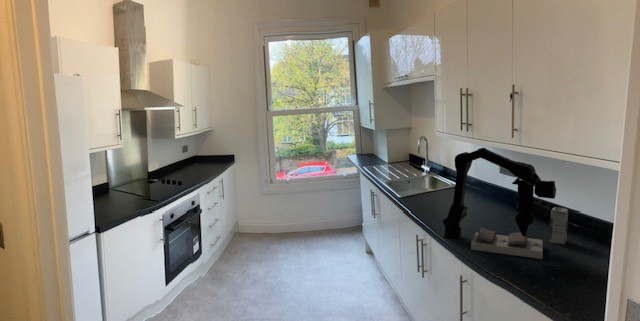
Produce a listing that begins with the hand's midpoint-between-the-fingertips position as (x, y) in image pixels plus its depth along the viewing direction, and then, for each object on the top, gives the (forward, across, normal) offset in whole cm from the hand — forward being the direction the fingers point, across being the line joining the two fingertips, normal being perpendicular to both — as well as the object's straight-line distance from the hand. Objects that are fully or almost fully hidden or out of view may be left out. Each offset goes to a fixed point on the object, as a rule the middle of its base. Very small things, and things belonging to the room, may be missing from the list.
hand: (524, 232), depth 154 cm
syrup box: (+8, +16, -13) cm, 22 cm away
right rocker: (+3, 0, +2) cm, 4 cm away
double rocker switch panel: (+8, 0, +8) cm, 11 cm away
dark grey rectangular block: (+3, 0, +14) cm, 15 cm away
